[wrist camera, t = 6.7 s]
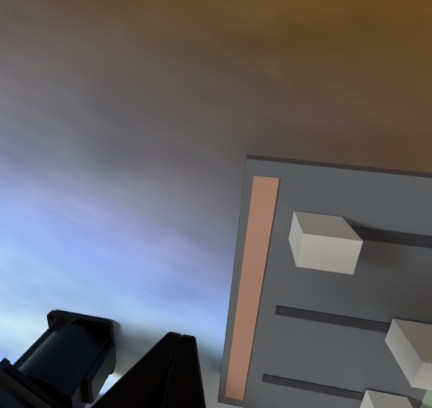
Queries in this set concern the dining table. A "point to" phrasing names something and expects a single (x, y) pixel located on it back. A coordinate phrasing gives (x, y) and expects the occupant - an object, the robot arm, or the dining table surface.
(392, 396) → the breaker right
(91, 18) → the dining table surface
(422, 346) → the breaker middle
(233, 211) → the dining table surface
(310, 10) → the dining table surface
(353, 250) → the breaker
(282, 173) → the switch panel
